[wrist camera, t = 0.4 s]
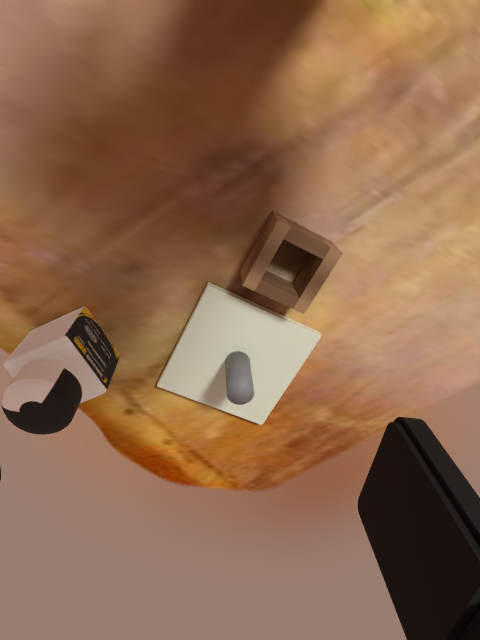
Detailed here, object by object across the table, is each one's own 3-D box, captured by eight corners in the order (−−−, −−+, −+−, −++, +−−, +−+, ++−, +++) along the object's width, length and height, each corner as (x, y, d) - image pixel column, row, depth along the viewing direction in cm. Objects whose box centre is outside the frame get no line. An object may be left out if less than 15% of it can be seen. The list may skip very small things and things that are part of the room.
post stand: (208, 281, 43) (207, 309, 37) (319, 332, 47) (335, 365, 40) (157, 381, 48) (149, 420, 42) (261, 419, 52) (267, 461, 46)
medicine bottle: (121, 355, 47) (94, 427, 36) (68, 378, 48) (25, 455, 37) (86, 304, 44) (44, 365, 33) (29, 329, 44) (-29, 397, 34)
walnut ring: (272, 210, 40) (278, 220, 37) (331, 241, 42) (342, 253, 38) (239, 271, 43) (242, 285, 39) (297, 298, 45) (304, 314, 41)
